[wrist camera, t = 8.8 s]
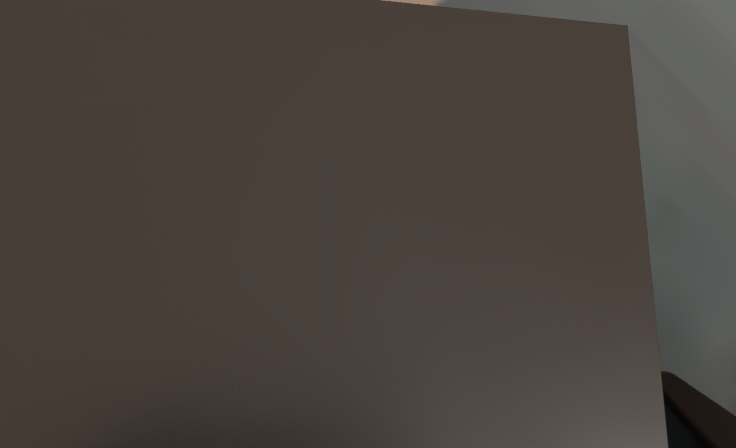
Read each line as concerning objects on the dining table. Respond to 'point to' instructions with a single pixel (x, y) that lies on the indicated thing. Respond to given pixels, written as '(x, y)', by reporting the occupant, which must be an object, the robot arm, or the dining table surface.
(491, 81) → the housing
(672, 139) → the dining table surface
